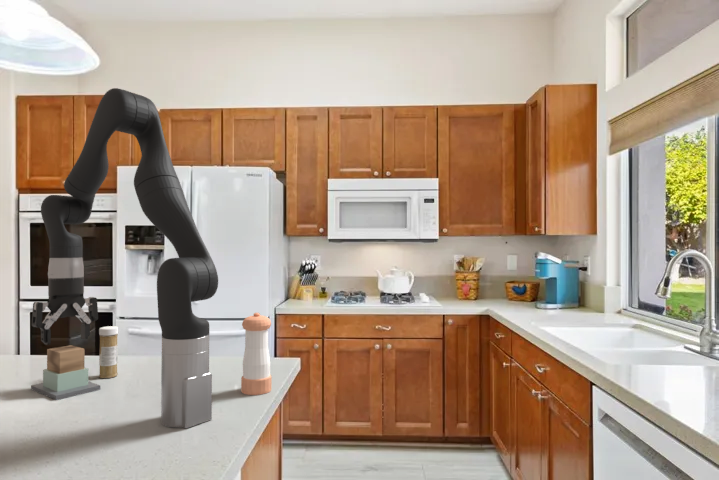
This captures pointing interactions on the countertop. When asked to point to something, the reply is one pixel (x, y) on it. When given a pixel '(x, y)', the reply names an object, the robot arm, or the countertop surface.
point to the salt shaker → (256, 356)
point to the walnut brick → (65, 359)
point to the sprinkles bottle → (108, 351)
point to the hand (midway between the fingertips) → (66, 341)
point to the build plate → (66, 392)
